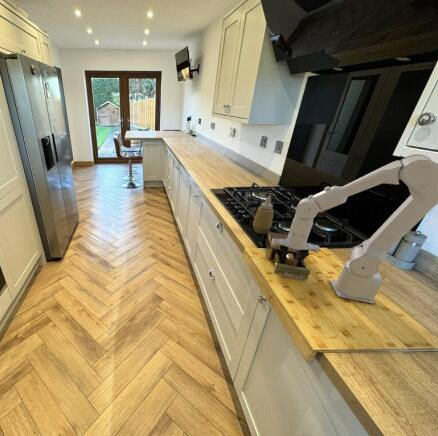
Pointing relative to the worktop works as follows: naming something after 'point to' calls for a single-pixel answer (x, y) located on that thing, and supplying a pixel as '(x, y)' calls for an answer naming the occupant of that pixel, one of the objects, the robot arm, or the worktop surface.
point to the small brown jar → (290, 260)
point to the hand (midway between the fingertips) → (288, 264)
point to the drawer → (290, 268)
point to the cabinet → (271, 248)
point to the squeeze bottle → (264, 217)
